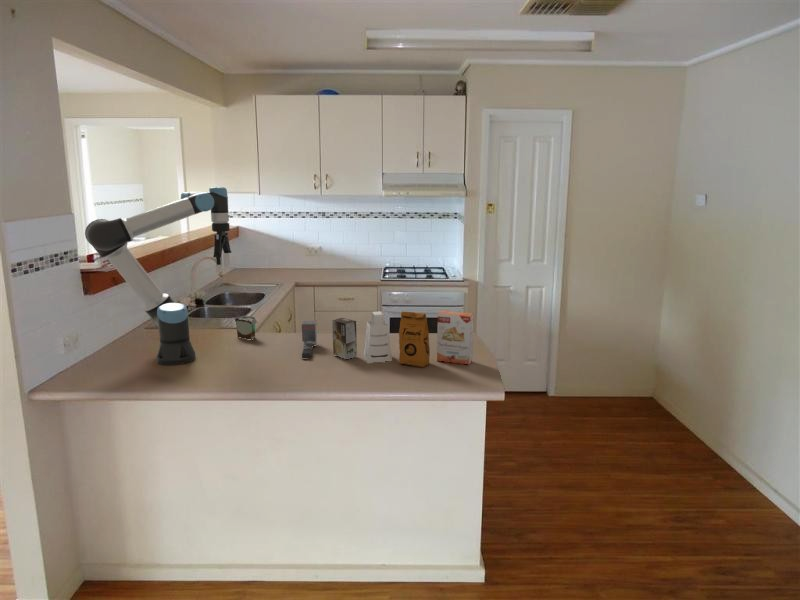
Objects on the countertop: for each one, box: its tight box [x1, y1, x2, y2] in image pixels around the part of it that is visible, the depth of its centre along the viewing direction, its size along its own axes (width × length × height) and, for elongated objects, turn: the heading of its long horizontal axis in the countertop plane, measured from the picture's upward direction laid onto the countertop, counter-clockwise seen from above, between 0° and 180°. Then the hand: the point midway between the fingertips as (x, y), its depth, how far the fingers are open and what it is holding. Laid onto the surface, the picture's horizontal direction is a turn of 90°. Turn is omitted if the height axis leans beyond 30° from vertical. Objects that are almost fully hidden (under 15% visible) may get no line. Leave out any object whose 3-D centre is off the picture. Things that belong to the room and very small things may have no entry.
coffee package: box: [398, 311, 431, 368], centre depth 228 cm, size 10×12×22 cm
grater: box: [363, 310, 393, 364], centre depth 235 cm, size 10×10×20 cm
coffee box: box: [331, 317, 358, 360], centre depth 238 cm, size 9×6×16 cm
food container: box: [234, 315, 258, 341], centre depth 268 cm, size 12×6×10 cm, turn 58°
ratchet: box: [301, 339, 318, 359], centre depth 247 cm, size 22×6×8 cm, turn 4°
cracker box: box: [436, 310, 474, 366], centre depth 231 cm, size 14×6×21 cm, turn 68°
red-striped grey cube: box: [301, 320, 318, 342], centre depth 255 cm, size 6×6×8 cm
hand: (223, 269), depth 253 cm, fingers open, 13 cm apart
